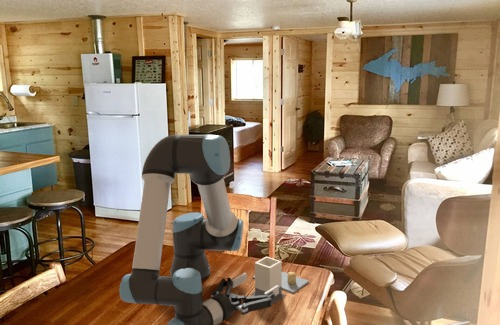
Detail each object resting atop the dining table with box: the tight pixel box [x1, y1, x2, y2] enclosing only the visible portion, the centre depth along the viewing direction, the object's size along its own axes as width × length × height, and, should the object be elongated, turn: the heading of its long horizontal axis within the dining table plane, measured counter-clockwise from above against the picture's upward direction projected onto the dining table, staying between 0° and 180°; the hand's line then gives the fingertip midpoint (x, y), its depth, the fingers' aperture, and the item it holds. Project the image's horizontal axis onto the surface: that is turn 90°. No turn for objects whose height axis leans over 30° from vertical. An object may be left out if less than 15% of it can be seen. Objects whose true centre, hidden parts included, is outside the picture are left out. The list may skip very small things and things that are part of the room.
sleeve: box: [254, 255, 283, 301], centre depth 140 cm, size 6×6×12 cm
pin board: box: [252, 271, 310, 294], centre depth 151 cm, size 18×10×5 cm, turn 50°
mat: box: [250, 291, 287, 305], centre depth 141 cm, size 10×7×1 cm
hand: (261, 282), depth 136 cm, fingers open, 13 cm apart
